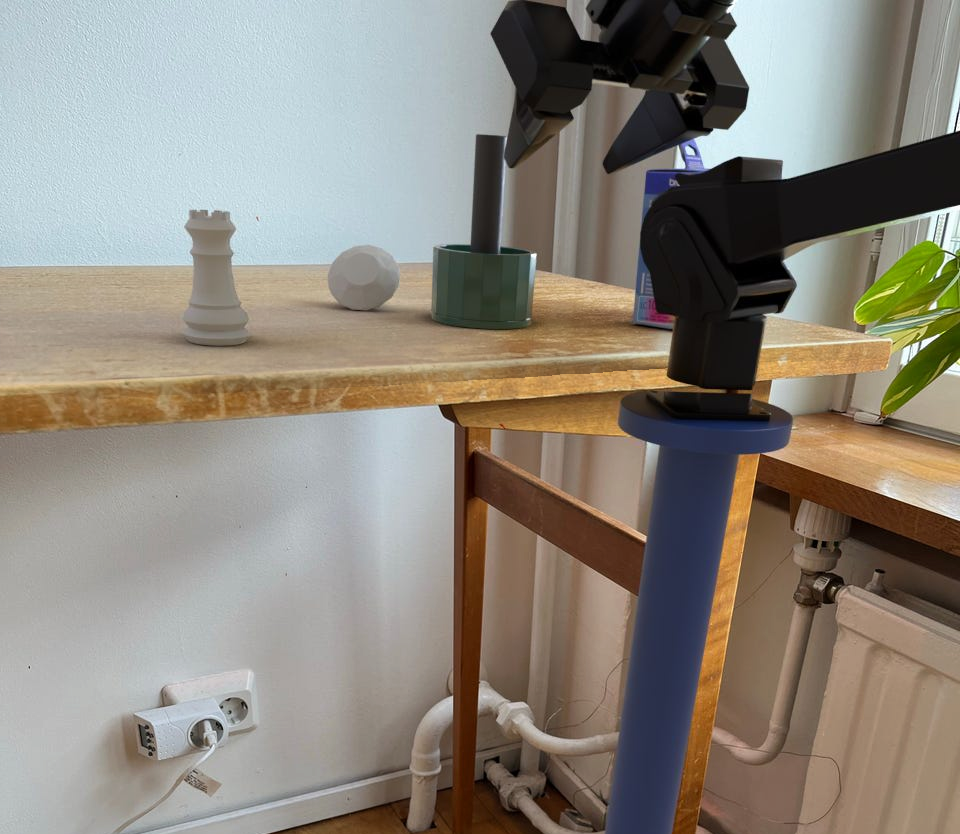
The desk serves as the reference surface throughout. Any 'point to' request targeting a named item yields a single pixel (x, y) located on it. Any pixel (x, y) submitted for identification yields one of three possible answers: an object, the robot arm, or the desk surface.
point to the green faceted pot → (482, 287)
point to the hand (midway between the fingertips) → (558, 166)
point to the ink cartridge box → (653, 187)
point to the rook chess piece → (213, 283)
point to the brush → (488, 194)
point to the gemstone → (363, 277)
